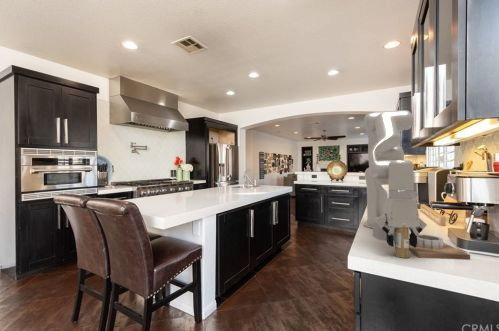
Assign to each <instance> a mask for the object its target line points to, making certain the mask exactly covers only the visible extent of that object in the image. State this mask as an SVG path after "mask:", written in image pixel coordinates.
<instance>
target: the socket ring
mask: <svg viewBox="0 0 499 331" xmlns="http://www.w3.org/2000/svg"><path fill="white" fill-rule="evenodd" d="M443 243H444V238H441V237H440V236H435V235H431V234H420V233H419V235H418V236H417V244H416V246H418V247H422V248H426V249H435V250H440V249H443Z"/></svg>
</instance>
